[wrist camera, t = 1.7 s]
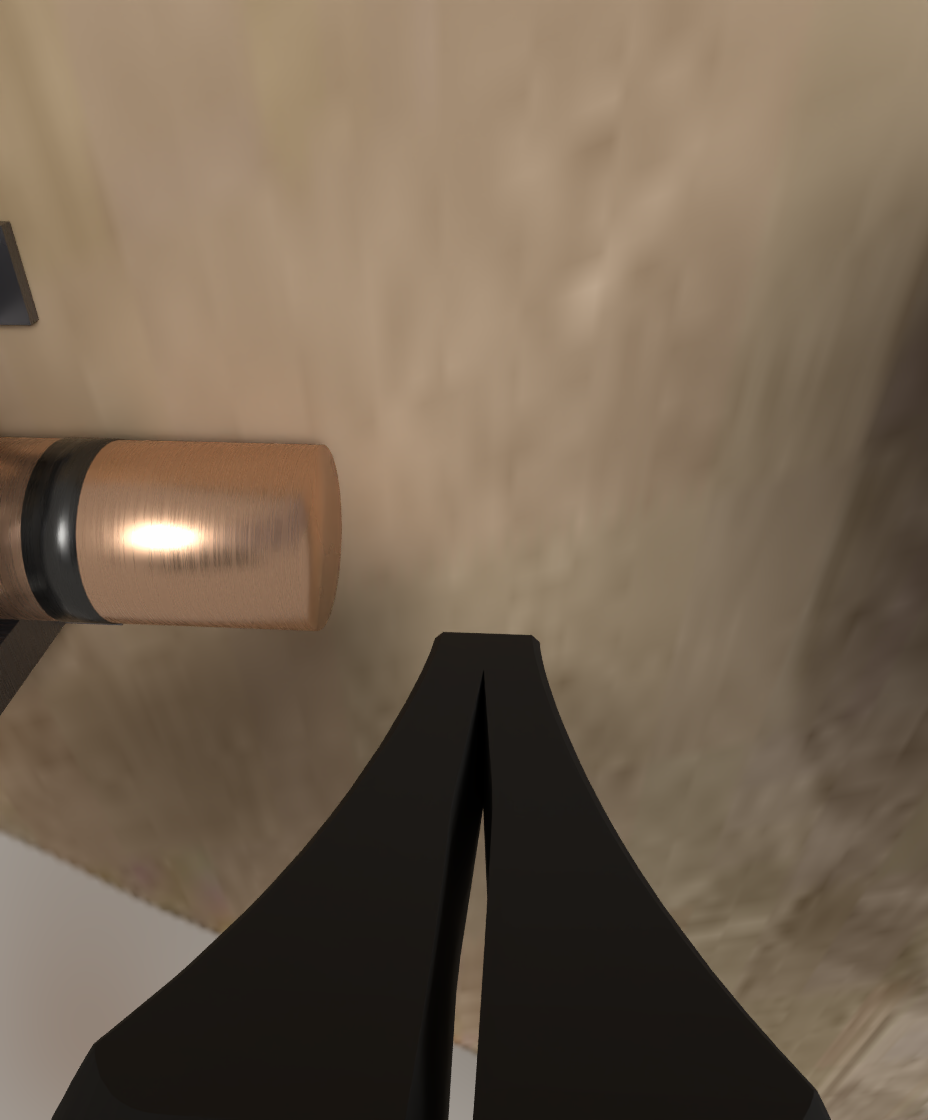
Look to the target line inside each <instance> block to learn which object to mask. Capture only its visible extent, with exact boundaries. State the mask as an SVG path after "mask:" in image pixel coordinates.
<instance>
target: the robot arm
mask: <svg viewBox="0 0 928 1120" xmlns="http://www.w3.org/2000/svg"><path fill="white" fill-rule="evenodd" d="M482 811H483V812H484V835H485V858H486V880H487V914H486V931H485V947H484V963H483V978H482V994H481V1010H480V1025H479V1039H478V1054H477V1069H476V1084H475V1098H474V1099H475V1100H474V1113H473V1120H831V1119H830V1117H829V1114H828V1112H827V1110H826V1108H825V1106H824V1104H823V1102H822V1100H821V1098H820V1096H819V1094H818V1092H817V1090H816V1089H815V1088H814V1087H813V1086H812V1085H811V1083H810V1082H809V1081H808V1080H807V1079H806V1078H805V1077H804V1076H803V1075H802V1074H801V1073H800V1072H799V1070H798V1069H797V1068H796V1067H795V1066H794V1065H793V1064H792V1063H791V1062H790V1061H789V1060H788V1059H787V1057H786V1056H785V1055H784V1054H783V1053H782V1052H781V1051H780V1050H779V1049H778V1048H777V1047H776V1045H775V1044H774V1043H773V1042H772V1041H771V1040H770V1039H769V1037H768V1036H767V1035H766V1034H765V1033H764V1032H763V1031H762V1030H761V1028H760V1027H759V1026H758V1025H757V1024H756V1023H755V1022H754V1020H753V1019H752V1018H751V1017H750V1016H749V1015H748V1014H747V1012H746V1011H745V1010H744V1009H743V1008H742V1006H741V1005H740V1004H739V1003H738V1001H737V1000H736V999H735V998H734V997H733V995H732V994H731V993H730V992H729V991H728V989H727V988H726V987H725V986H724V985H723V983H722V982H721V981H720V980H719V979H718V977H717V976H716V975H715V974H714V972H713V971H712V970H711V969H710V967H709V966H708V965H707V963H706V962H705V961H704V959H703V958H702V957H701V955H700V954H699V953H698V951H697V950H696V949H695V947H694V946H693V945H692V943H691V942H690V941H689V939H688V938H687V937H686V935H685V934H684V933H683V931H682V930H681V929H680V927H679V926H678V925H677V923H676V922H675V920H674V919H673V918H672V916H671V915H670V914H669V912H668V911H667V910H666V908H665V907H664V906H663V904H662V903H661V901H660V900H659V898H658V897H657V895H656V894H655V892H654V891H653V889H652V888H651V886H650V885H649V883H648V882H647V880H646V879H645V877H644V876H643V874H642V873H641V871H640V870H639V868H638V867H637V865H636V863H635V862H634V860H633V859H632V857H631V855H630V854H629V852H628V850H627V849H626V847H625V846H624V844H623V842H622V841H621V839H620V837H619V836H618V834H617V832H616V830H615V829H614V827H613V825H612V823H611V822H610V820H609V818H608V816H607V814H606V813H605V811H604V809H603V807H602V805H601V803H600V801H599V799H598V798H597V796H596V794H595V792H594V790H593V788H592V786H591V784H590V782H589V780H588V778H587V776H586V774H585V772H584V770H583V768H582V766H581V764H580V761H579V759H578V757H577V755H576V753H575V750H574V748H573V746H572V743H571V741H570V739H569V736H568V734H567V732H566V729H565V727H564V725H563V722H562V720H561V717H560V715H559V712H558V709H557V707H556V704H555V701H554V698H553V695H552V692H551V689H550V686H549V683H548V680H547V676H546V673H545V669H544V665H543V661H542V656H541V651H540V642H539V641H538V640H537V639H535V638H534V637H533V636H532V635H512V634H483V633H454V632H443V633H441V634H440V635H439V636H438V637H436V638H435V640H434V643H433V646H432V649H431V652H430V654H429V656H428V659H427V661H426V663H425V666H424V668H423V670H422V672H421V674H420V676H419V678H418V680H417V682H416V684H415V686H414V688H413V690H412V692H411V693H410V695H409V697H408V699H407V701H406V703H405V705H404V706H403V708H402V710H401V711H400V713H399V715H398V716H397V718H396V720H395V721H394V723H393V725H392V727H391V728H390V730H389V732H388V733H387V735H386V737H385V738H384V740H383V742H382V743H381V745H380V746H379V748H378V749H377V751H376V752H375V754H374V755H373V757H372V758H371V760H370V761H369V763H368V764H367V765H366V767H365V768H364V770H363V771H362V773H361V774H360V776H359V777H358V779H357V780H356V782H355V783H354V784H353V786H352V787H351V789H350V790H349V792H348V793H347V794H346V796H345V797H344V798H343V800H342V801H341V802H340V804H339V805H338V806H337V808H336V809H335V810H334V812H333V813H332V814H331V815H330V817H329V818H328V819H327V820H326V822H325V823H324V824H323V825H322V827H321V828H320V829H319V830H318V832H317V833H316V834H315V835H314V836H313V838H312V839H311V840H310V841H309V842H308V844H307V845H306V846H305V847H304V848H303V850H302V851H301V852H300V853H299V854H298V855H297V856H296V857H295V859H294V860H293V861H292V862H291V863H290V864H289V865H288V866H287V867H286V869H285V870H284V871H283V872H282V873H281V874H280V875H279V876H278V877H277V879H276V880H275V881H274V882H273V883H272V884H271V885H270V886H269V887H268V888H267V889H266V891H265V892H264V893H263V894H262V895H261V896H260V897H259V898H258V899H257V900H256V901H255V902H254V903H253V904H252V905H251V906H250V907H249V908H248V909H247V910H246V911H245V912H244V913H243V914H242V915H241V916H240V917H239V918H238V919H237V920H236V921H235V922H234V923H232V924H231V925H230V926H229V927H228V928H227V929H226V930H225V931H224V932H223V933H222V934H221V935H220V936H219V937H218V938H217V939H216V940H215V941H214V942H213V943H212V944H210V945H209V946H208V947H207V948H206V949H205V950H204V951H203V952H202V953H201V954H200V955H199V956H198V957H197V958H196V959H195V960H193V961H192V962H191V963H190V964H189V965H188V966H187V967H186V968H185V969H183V970H182V971H181V972H180V973H179V974H178V975H177V976H175V977H174V978H173V979H172V980H171V981H170V982H169V983H167V984H166V985H165V986H164V987H162V988H161V989H160V990H159V991H158V992H156V993H155V994H154V995H153V996H152V997H150V998H149V999H148V1000H147V1001H145V1002H144V1003H143V1004H142V1005H141V1006H139V1007H138V1008H137V1009H136V1010H134V1011H133V1012H132V1013H131V1014H130V1015H129V1016H127V1017H126V1018H125V1019H124V1020H123V1021H121V1022H120V1023H119V1024H117V1025H116V1026H115V1027H114V1028H113V1029H111V1030H110V1031H109V1032H108V1033H106V1034H105V1035H104V1036H103V1037H101V1038H100V1039H99V1040H98V1041H97V1042H96V1043H94V1044H93V1046H92V1048H91V1049H90V1051H89V1052H88V1054H87V1056H86V1057H85V1059H84V1061H83V1063H82V1064H81V1066H80V1068H79V1069H78V1071H77V1073H76V1075H75V1077H74V1078H73V1080H72V1082H71V1083H70V1085H69V1088H68V1089H67V1091H66V1093H65V1095H64V1097H63V1099H62V1101H61V1102H60V1104H59V1106H58V1108H57V1109H56V1111H55V1113H54V1115H53V1117H52V1120H448V1115H449V1099H450V1083H451V1067H452V1051H453V1036H454V1020H455V1005H456V990H457V981H458V972H459V964H460V955H461V949H462V942H463V936H464V929H465V923H466V916H467V910H468V903H469V897H470V890H471V884H472V877H473V871H474V864H475V858H476V851H477V844H478V838H479V831H480V825H481V818H482Z"/></svg>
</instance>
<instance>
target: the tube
mask: <svg viewBox="0 0 928 1120" xmlns="http://www.w3.org/2000/svg"><path fill="white" fill-rule="evenodd" d="M341 533H342V522H341V500H340V489H339V482H338V475H337V470H336V466H335V462H334V459H333V457H332V454H331V452H330V450H329V449H328V448H327V447H326V446H325V445H305V444H264V443H222V442H181V441H139V440H124V439H99V438H64V439H56V438H14V437H0V619H18V620H44V621H61V622H70V623H96V624H122V623H123V624H149V625H176V626H202V627H228V628H254V629H281V630H307V631H319V630H321V629H322V628H323V627H324V626H325V625H326V623H327V621H328V619H329V616H330V614H331V610H332V607H333V603H334V599H335V595H336V589H337V583H338V576H339V568H340V556H341Z"/></svg>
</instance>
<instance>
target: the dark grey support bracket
mask: <svg viewBox="0 0 928 1120" xmlns="http://www.w3.org/2000/svg"><path fill="white" fill-rule="evenodd" d="M37 320H39V319H38V316H37V312H36V309H35V306H34V302H33V299H32V295H31V292H30V289H29V285H28V282H27V279H26V275H25V272H24V269H23V265H22V262H21V259H20V255H19V252H18V249H17V245H16V242H15V239H14V235H13V232H12V228H11V225H10V222H5V221H0V325H32V324H33V323H35V322H36V321H37ZM65 623H70V622H61V621H44V620H18V619H0V715H1V714H2V712H3V711H4V709H5V708H6V707H7V705H8V704H9V702H10V701H11V700H12V698H13V697H14V695H15V694H16V692H17V691H18V690H19V688H20V687H21V685H22V684H23V683H24V681H25V680H26V678H27V677H28V675H29V674H30V673H31V671H32V670H33V668H34V667H35V666H36V664H37V663H38V661H39V660H40V658H41V657H42V656H43V654H44V653H45V651H46V650H47V649H48V647H49V646H50V644H51V643H52V642H53V640H54V639H55V637H56V636H57V634H58V633H59V632H60V630H61V629H62V627H63V626H64V625H65ZM77 624H96V623H77ZM104 625H123V623H122V624H104Z"/></svg>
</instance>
